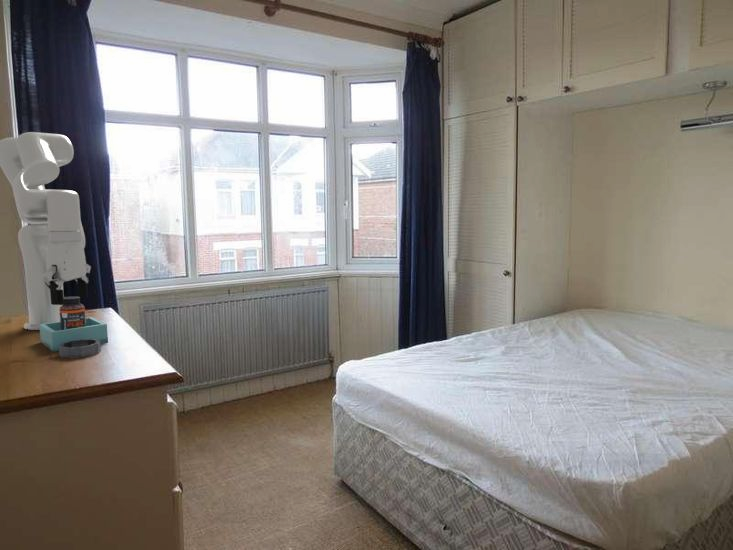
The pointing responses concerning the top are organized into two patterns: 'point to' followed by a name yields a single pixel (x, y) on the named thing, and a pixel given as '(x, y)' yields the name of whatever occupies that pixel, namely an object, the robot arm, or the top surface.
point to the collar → (79, 348)
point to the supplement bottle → (72, 313)
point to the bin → (72, 333)
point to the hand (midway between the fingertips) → (70, 300)
